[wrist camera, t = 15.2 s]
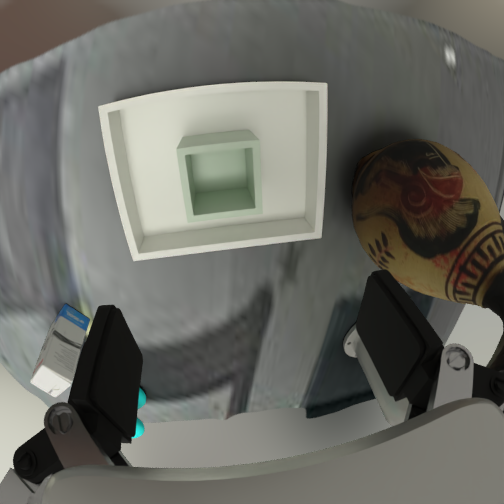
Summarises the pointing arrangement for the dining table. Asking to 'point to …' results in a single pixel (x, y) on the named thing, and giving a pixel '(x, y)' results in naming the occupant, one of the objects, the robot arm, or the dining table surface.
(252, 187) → the box
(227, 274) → the dining table surface
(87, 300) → the dining table surface
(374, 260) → the ceramic jug
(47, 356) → the ink box
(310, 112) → the white shallow tray
